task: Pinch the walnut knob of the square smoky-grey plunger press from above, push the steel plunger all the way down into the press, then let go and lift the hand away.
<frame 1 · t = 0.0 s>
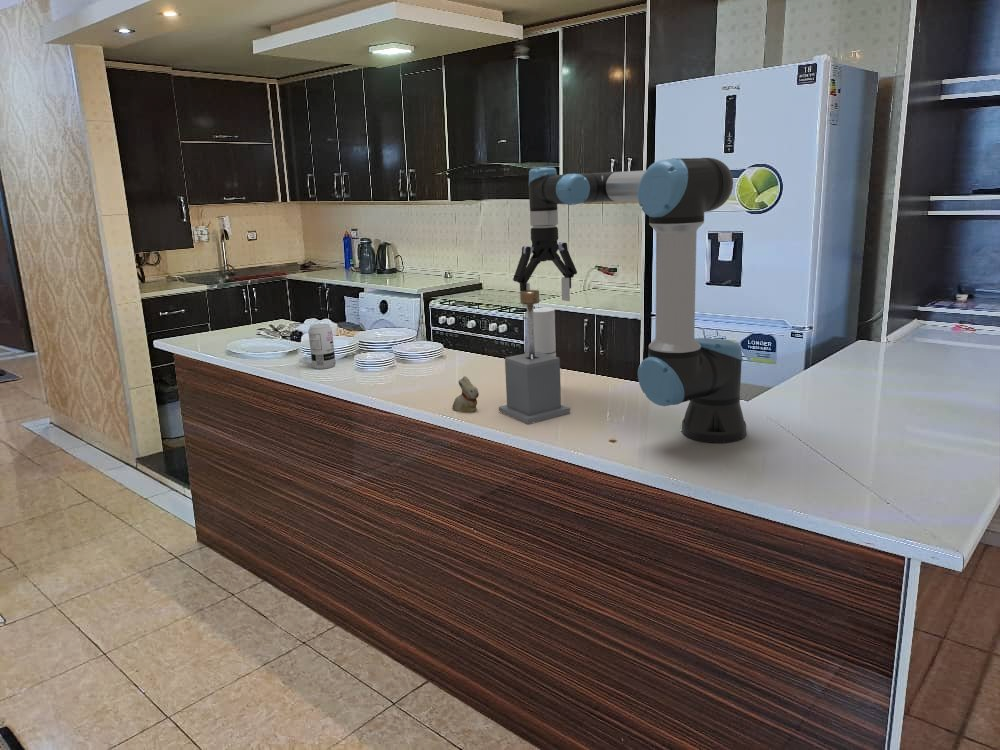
hand: (546, 303, 206), 28 cm above the countertop, tool pointing down, fingers open, 13 cm apart
cylindrical container: (545, 392, 221), on the countertop
supplement can: (324, 367, 265), on the countertop
chocolate bunny: (465, 410, 207), on the countertop
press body: (534, 412, 202), on the countertop
plunger: (530, 329, 196), point 23 cm above the countertop, slide at 0.0 cm
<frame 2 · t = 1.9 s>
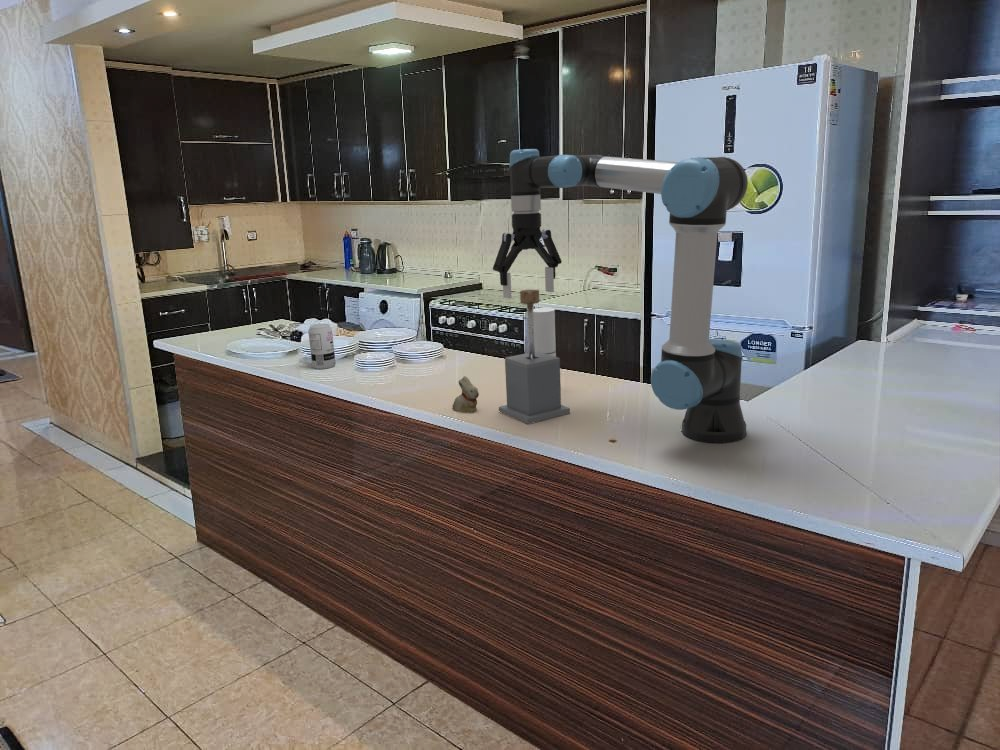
hand: (528, 294, 194), 33 cm above the countertop, tool pointing down, fingers open, 13 cm apart
nothing on the countertop moved.
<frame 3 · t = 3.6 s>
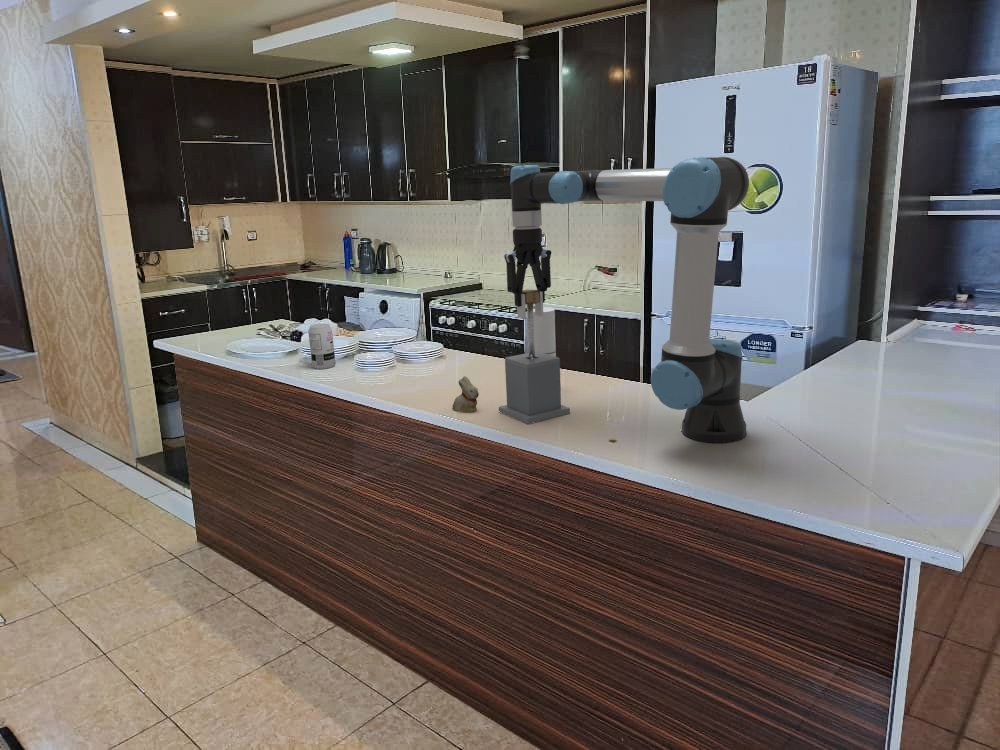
hand: (530, 316, 195), 27 cm above the countertop, tool pointing down, fingers closed on plunger, 5 cm apart
plunger: (530, 329, 196), point 23 cm above the countertop, slide at 0.0 cm, touching gripper
everything else where it was.
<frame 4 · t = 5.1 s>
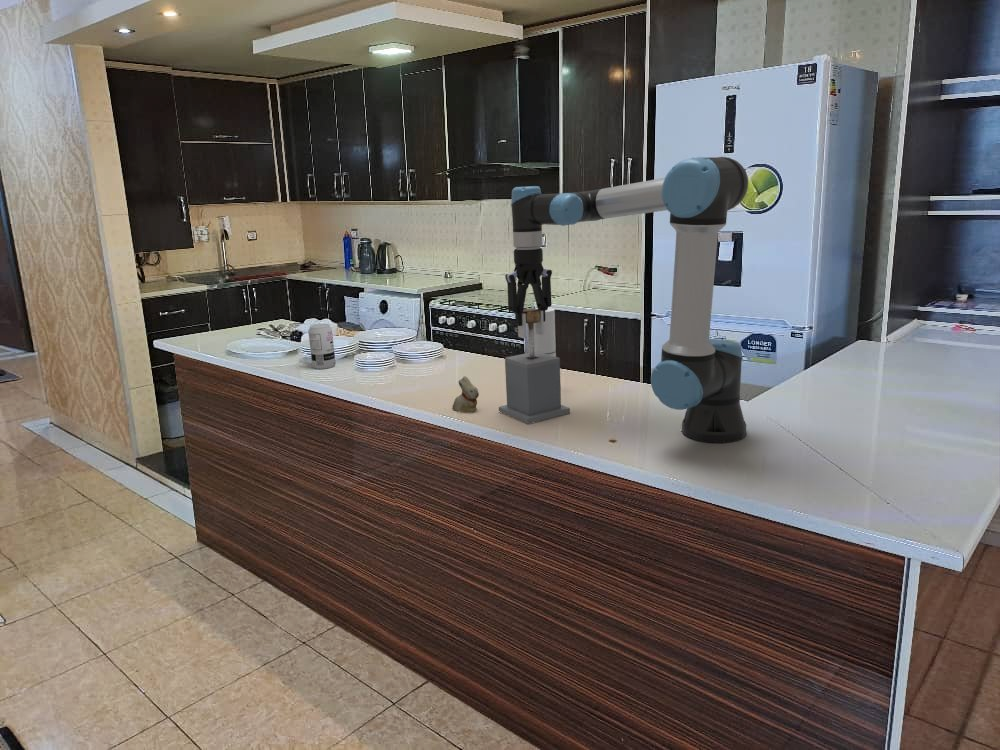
hand: (531, 335, 196), 22 cm above the countertop, tool pointing down, fingers closed on plunger, 5 cm apart
plunger: (531, 347, 197), point 18 cm above the countertop, slide at 5.1 cm, touching gripper
everything else where it was.
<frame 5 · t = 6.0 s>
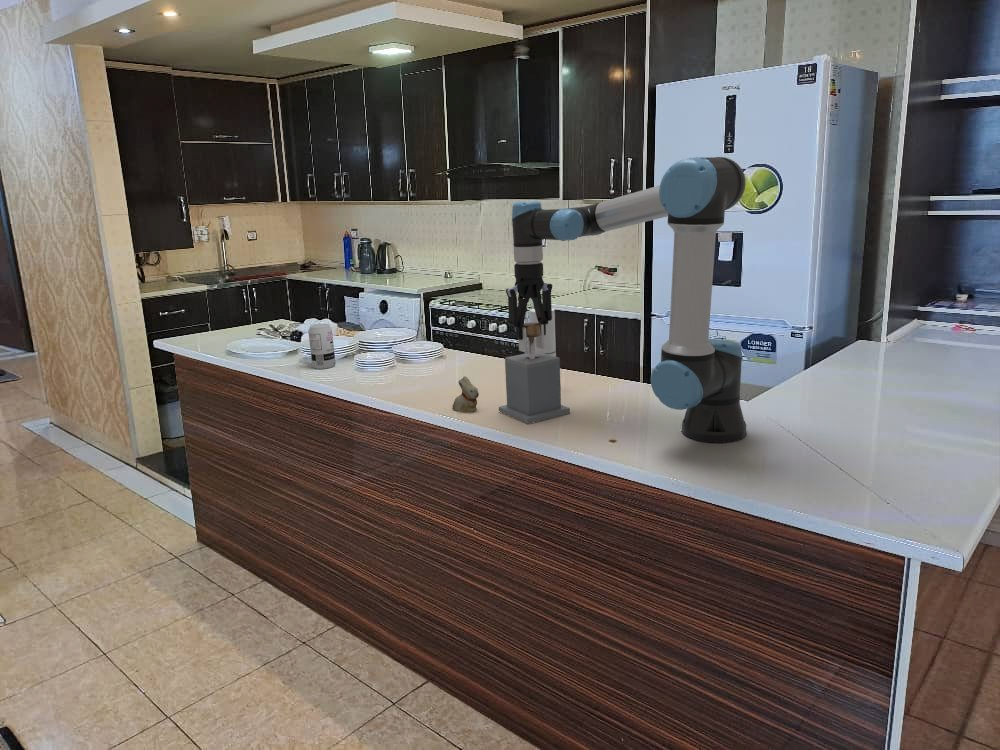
hand: (531, 349, 197), 18 cm above the countertop, tool pointing down, fingers closed on plunger, 5 cm apart
plunger: (532, 361, 198), point 15 cm above the countertop, slide at 8.8 cm, touching gripper
everything else where it was.
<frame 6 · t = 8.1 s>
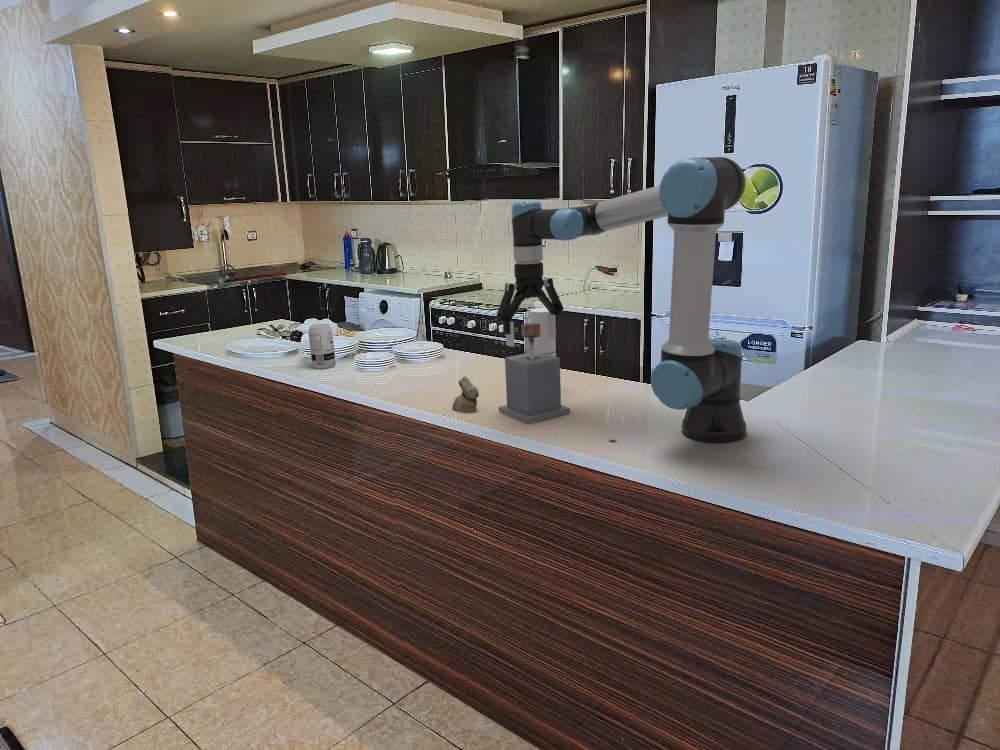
hand: (531, 342, 197), 20 cm above the countertop, tool pointing down, fingers open, 13 cm apart
plunger: (532, 361, 198), point 14 cm above the countertop, slide at 8.9 cm
everything else where it was.
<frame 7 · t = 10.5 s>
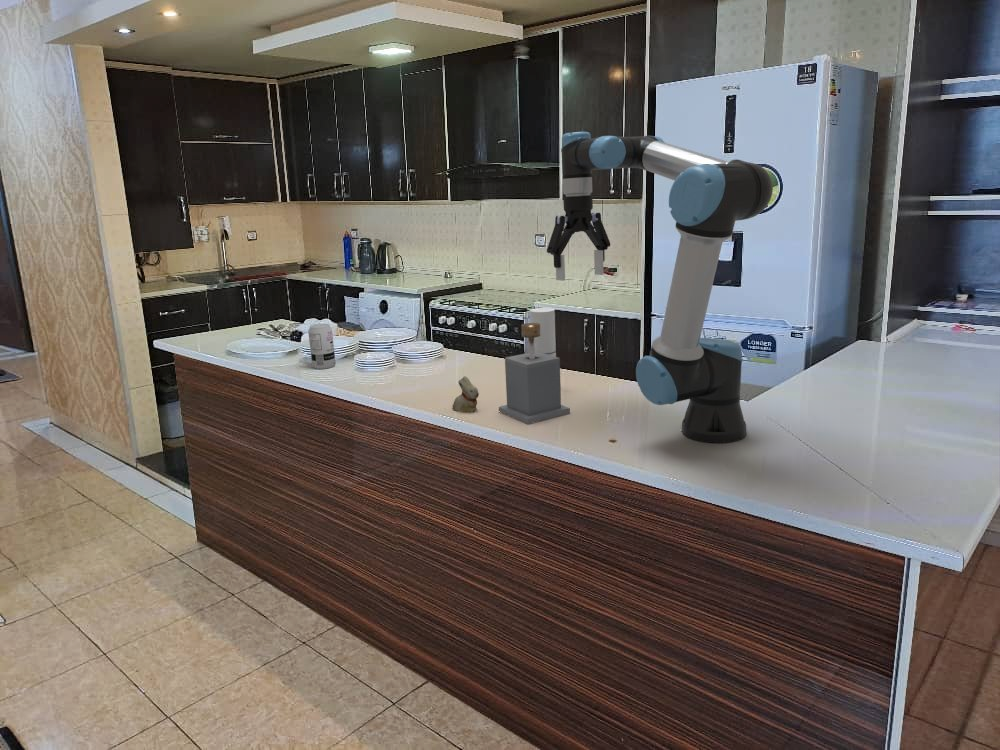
hand: (580, 277, 195), 36 cm above the countertop, tool pointing down, fingers open, 13 cm apart
nothing on the countertop moved.
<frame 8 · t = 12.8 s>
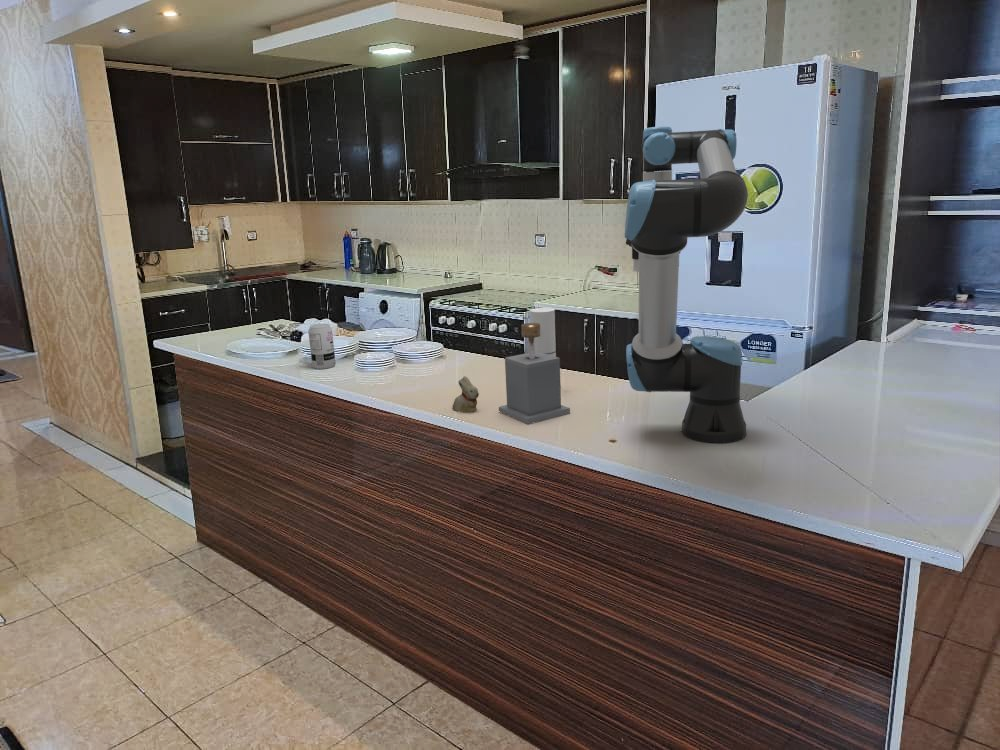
hand: (656, 269, 200), 37 cm above the countertop, tool pointing down, fingers open, 13 cm apart
nothing on the countertop moved.
at the end: plunger slide at 8.9 cm; the gripper is holding nothing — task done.
